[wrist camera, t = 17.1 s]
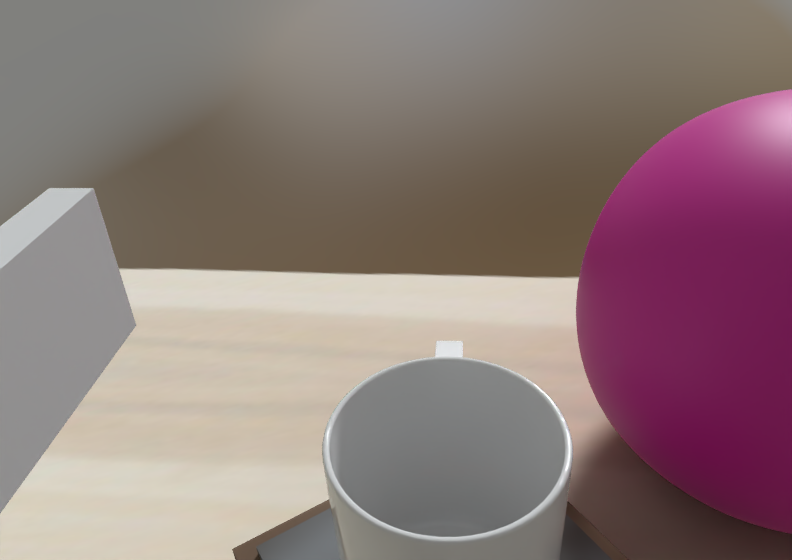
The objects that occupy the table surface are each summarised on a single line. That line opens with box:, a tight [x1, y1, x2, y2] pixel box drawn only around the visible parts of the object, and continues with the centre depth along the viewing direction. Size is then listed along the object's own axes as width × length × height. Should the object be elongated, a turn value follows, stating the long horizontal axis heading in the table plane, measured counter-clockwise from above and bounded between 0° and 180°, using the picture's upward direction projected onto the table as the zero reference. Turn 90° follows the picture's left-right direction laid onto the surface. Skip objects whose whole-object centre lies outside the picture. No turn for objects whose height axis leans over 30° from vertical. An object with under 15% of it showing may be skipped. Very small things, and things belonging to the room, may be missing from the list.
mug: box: [322, 341, 573, 560], centre depth 28 cm, size 12×9×11 cm
